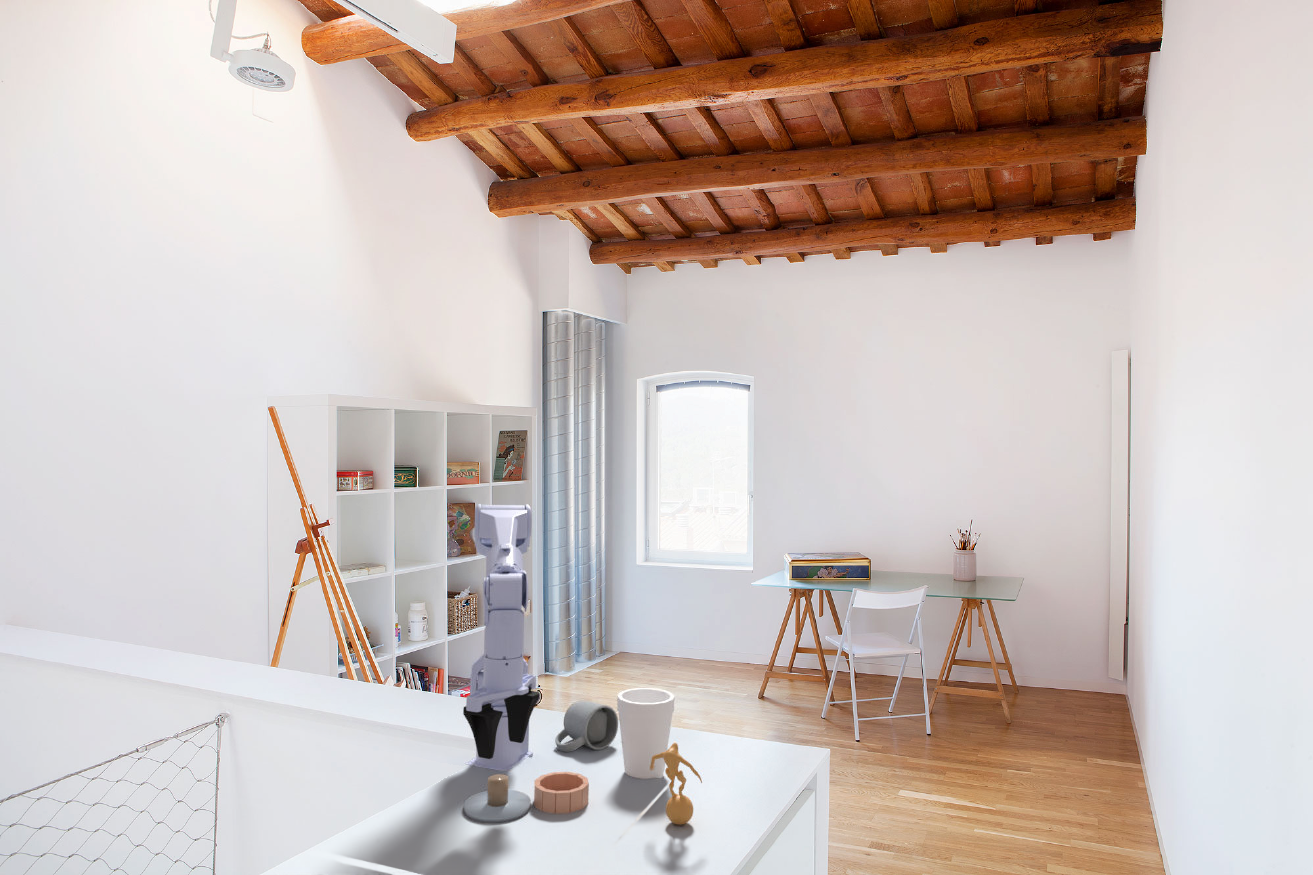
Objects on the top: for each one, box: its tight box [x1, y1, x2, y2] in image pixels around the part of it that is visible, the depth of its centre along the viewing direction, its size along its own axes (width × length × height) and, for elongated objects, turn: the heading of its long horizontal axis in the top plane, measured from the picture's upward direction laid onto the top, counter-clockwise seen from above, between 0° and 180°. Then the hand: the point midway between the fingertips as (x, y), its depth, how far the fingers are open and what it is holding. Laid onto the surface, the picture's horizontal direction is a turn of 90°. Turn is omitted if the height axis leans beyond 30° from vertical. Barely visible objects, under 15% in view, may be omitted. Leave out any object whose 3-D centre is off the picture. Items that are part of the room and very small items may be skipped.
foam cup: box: [616, 687, 675, 780], centre depth 135 cm, size 10×9×13 cm
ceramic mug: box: [554, 700, 619, 753], centre depth 149 cm, size 11×8×8 cm
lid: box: [463, 773, 532, 823], centre depth 120 cm, size 10×10×4 cm
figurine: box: [650, 742, 703, 826], centre depth 116 cm, size 8×6×12 cm
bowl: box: [533, 771, 590, 815], centre depth 122 cm, size 8×8×4 cm
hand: (501, 749), depth 119 cm, fingers open, 7 cm apart
